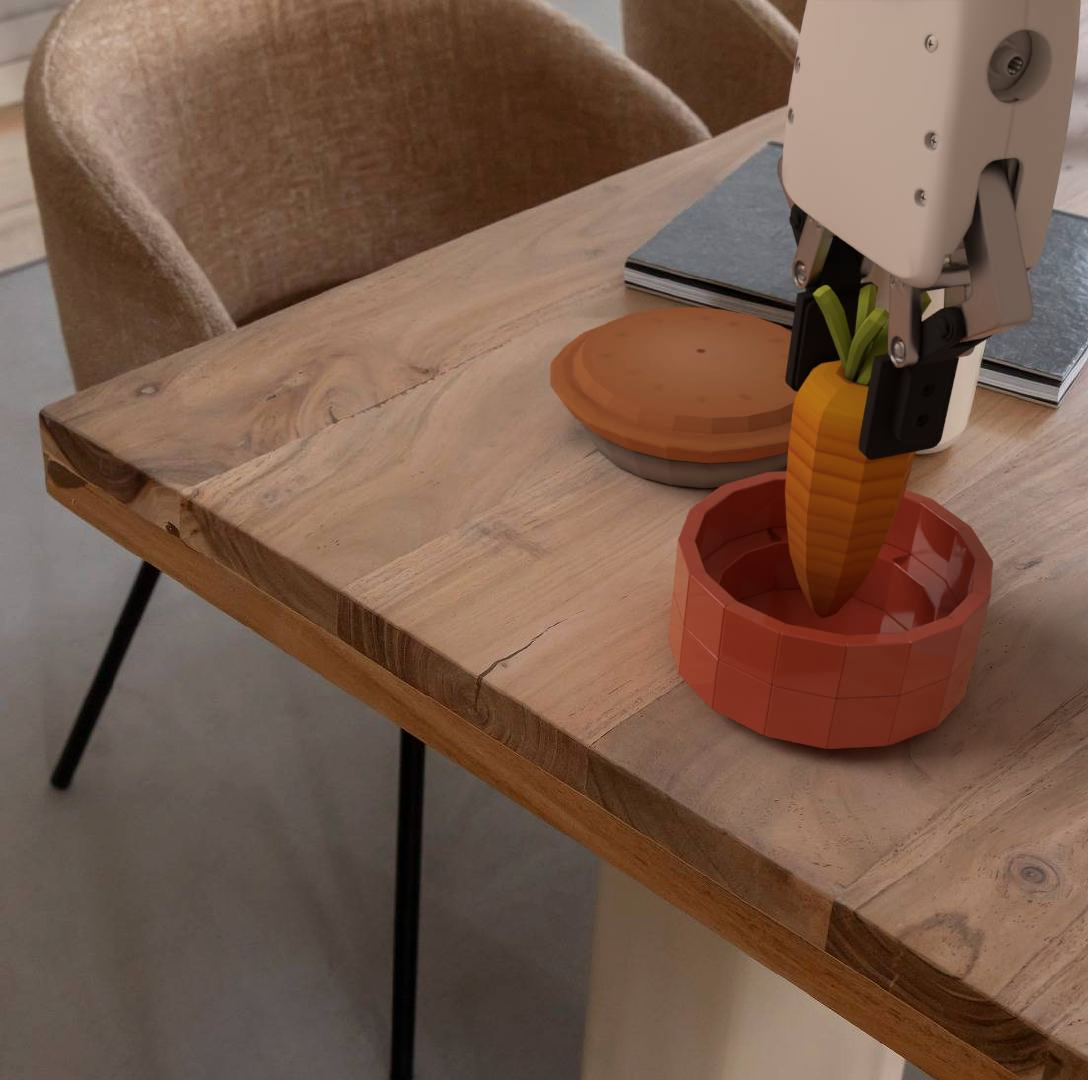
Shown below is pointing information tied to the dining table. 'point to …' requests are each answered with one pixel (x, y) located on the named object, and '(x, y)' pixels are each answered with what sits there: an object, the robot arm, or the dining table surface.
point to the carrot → (840, 463)
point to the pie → (682, 394)
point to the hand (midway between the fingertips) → (860, 411)
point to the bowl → (826, 622)
